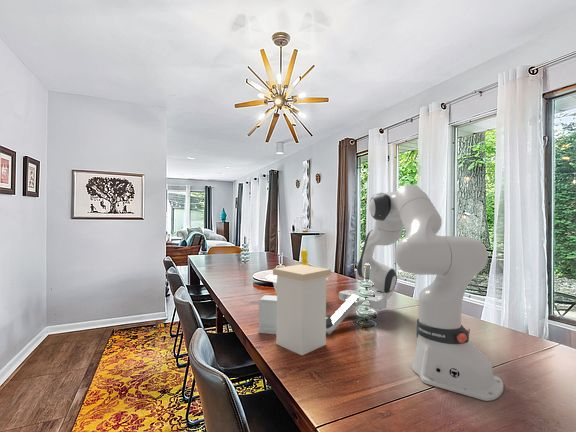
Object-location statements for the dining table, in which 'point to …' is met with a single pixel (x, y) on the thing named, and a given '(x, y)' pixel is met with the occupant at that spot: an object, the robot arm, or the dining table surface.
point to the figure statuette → (304, 257)
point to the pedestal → (301, 307)
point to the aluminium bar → (340, 314)
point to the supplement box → (268, 314)
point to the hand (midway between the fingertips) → (350, 302)
